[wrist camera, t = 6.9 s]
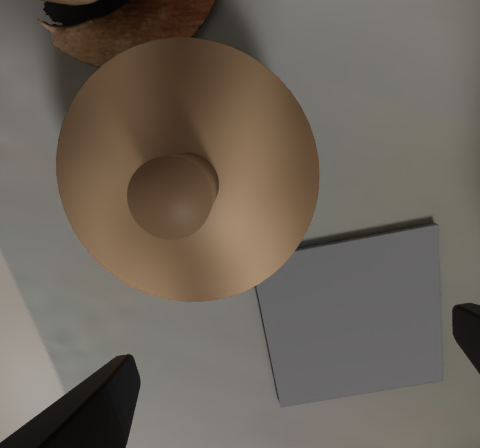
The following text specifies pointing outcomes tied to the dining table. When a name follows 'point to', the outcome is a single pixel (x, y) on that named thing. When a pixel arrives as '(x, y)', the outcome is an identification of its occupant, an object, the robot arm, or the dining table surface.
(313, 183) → the lid
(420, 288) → the mat
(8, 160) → the dining table surface
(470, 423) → the dining table surface
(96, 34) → the skull
